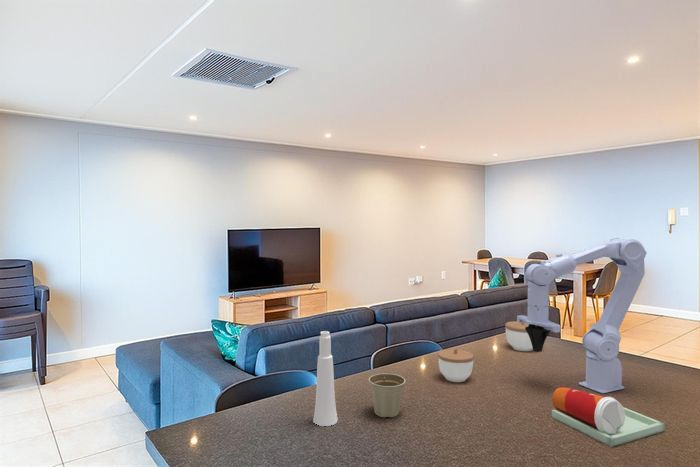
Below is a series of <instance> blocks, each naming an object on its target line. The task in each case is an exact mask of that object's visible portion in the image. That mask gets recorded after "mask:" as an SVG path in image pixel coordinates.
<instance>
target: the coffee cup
mask: <svg viewBox="0 0 700 467" xmlns="http://www.w3.org/2000/svg"><path fill="white" fill-rule="evenodd" d="M551 402H552V403H551V404H552V406H553V407H554V409H555V410H556V411H559V412H561V413H564V414H566V415H569V416H571V417H573V418H575V419H577V420H579V421H581V422H583V423H586V424H588V425H590V426H592V427H594V428H596V429H598V430H599V431H601V432H603V433H605V434H615V433H616V432H617V431H619V430H620V429H621V426H623V425H624V421H625V411H624V408H625V407H624V406H623V405H622V403H620V402H619V401H618V400H617V399H616V398H615V397H612V396H602V395H598V394H594V393H590V392H587V391H583V390H577V389H574V388H570V387H564V386H560V387H556V388H555V390H554V391H553V394H552V398H551ZM623 407H624V408H623Z"/></svg>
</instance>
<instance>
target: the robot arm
mask: <svg viewBox="0 0 700 467" xmlns="http://www.w3.org/2000/svg"><path fill="white" fill-rule="evenodd" d="M646 255H647V251H646V249H645V247H644V246H643V244H642V243H641V242H640V241H639V240H636V239H625V238H618V237H615V238H611V239H608V240H604V241H602V242H598V243H597V244H595V245H592V246H590V247H588V248H586V249H585V248H584V249H583V250H581V251H578V252H577V253H574V254H572V255H569V254H567V253H561V252H559V253H556V254H555V256H554V257H552V258H549V259H547V260H545V259H541V260H540V264H539V263H531V264H530V265H528V267H526V270H525V272H524V277H525V279H526V280H527V315H522V314H521V315H516V321H517V322H522V323H525V324H529V326H528V327H525V330H526V331H527V333H528V335H529V337H530V340H531V344H532V348H533V350H532V352H535V353H540V352H543V349H544V344H545V342H546V339H547V337H548V336H549V334H550V332H551V331H552V332H553V333H557V334H558V333H561V331H562V330H561V329H562V326H561V325H560V324H558V323H555V322H553V321H551V320H549V316H550V312H549V310H550V309H549V308H550V305H549V302H550V300H549V299H550V287H549V286H550V285H549V284H550V283H551V282H552V281H553V280H555V279H558V278H560V277H563V276H566V275H568V274H571V273H573V272H575V270H576V267H577V266H581V265H583V264H586V263H588V262H589V263H590V262H591V261H592V262H593V261H595V260H599V259H601V258H609V259H610V260H611V261H612V262H613V263H614V264H616V267H617V269H618V271H619V272H620V274H619V277H618V279H617V281H616V283H615V285H614V287H613V290H612V291H611V294H610V296H609V298H608V300H607V301H606V302H607V303H606V305H605V307H604V309H603V311H602V313H601V316H600V317H599V320H598V321H597V322H595V323H593V324H592V325H591V326H590V329H589V330H588V331H587V332H586V333H584V335H583V336H582V341H581V342H582V345H583V347H584V348H585V349H586V350H585V351H586V352H585V381H580V382H578V385H580V386H582V387H585V388H587V389H590V390H592V391H595V392H597V393H600V394H607V393H611V392H615V391H619V390H620V391H621V390H624V389H625V386H623V384H622V383H623V382H622V381H623V378H622V377H623V373H622V372H623V367H622V362H621V360H620V359H619V358H618V355H619V352H620V343H621V341H622V338H621V334H620V328H621V325H622V323H623V322H624V319H625V318H626V315H627V313H628V311H629V309H630V306H631V304H632V302H633V301H634V297H635V296H636V294H637V292H638V289H639V288H640V285H641V283H642V280H643V278H644V276H645V273H646V272H645V271H646V270H645V269H646V268H645V258H646Z"/></svg>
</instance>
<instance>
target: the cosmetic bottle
mask: <svg viewBox="0 0 700 467" xmlns="http://www.w3.org/2000/svg"><path fill="white" fill-rule="evenodd" d="M331 338H332V337H331V335H330V331H328V330H322V331H320V335H319V337H318V339H319V341H318V344H319V348H318V349H319V355H317V361H316V362H317V365H316V366H317V367H316V388H315V389H316V390H315V391H316V393H315V406H314V412H313V419H312V421H313V424H314V423H315V424H314V425H316V424H317V425H316V426H318V425H319V427H324V426H326V427H332V426H334V425H336V424H337V423H338V422H339V418H338V413H337V406H336V394H335V376H334V375H335V374H334V373H335V372H334V360H333V357H334V356H333V355H332V347H331V346H332V342H331V341H332V340H331ZM337 421H338V422H337ZM331 425H332V426H331Z"/></svg>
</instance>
